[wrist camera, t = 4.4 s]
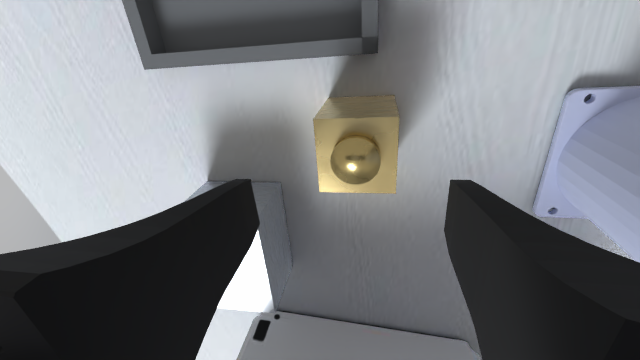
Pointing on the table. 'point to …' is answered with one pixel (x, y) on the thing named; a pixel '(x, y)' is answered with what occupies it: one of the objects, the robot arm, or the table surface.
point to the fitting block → (357, 144)
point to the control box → (261, 254)
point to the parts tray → (249, 30)
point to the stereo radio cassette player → (342, 341)
